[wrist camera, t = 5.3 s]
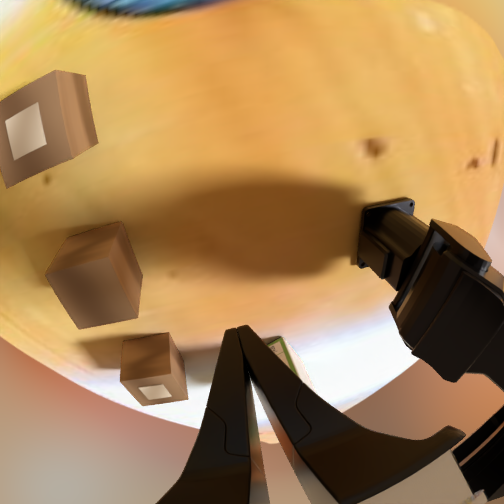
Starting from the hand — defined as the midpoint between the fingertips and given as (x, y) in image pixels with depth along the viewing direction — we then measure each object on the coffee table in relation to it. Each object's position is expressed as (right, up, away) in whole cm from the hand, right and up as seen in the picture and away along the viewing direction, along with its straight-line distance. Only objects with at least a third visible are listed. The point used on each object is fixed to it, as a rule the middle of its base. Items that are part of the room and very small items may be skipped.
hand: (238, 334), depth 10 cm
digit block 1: (-12, +12, +4) cm, 17 cm away
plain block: (-11, +3, +10) cm, 15 cm away
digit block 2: (-10, -7, +16) cm, 20 cm away
